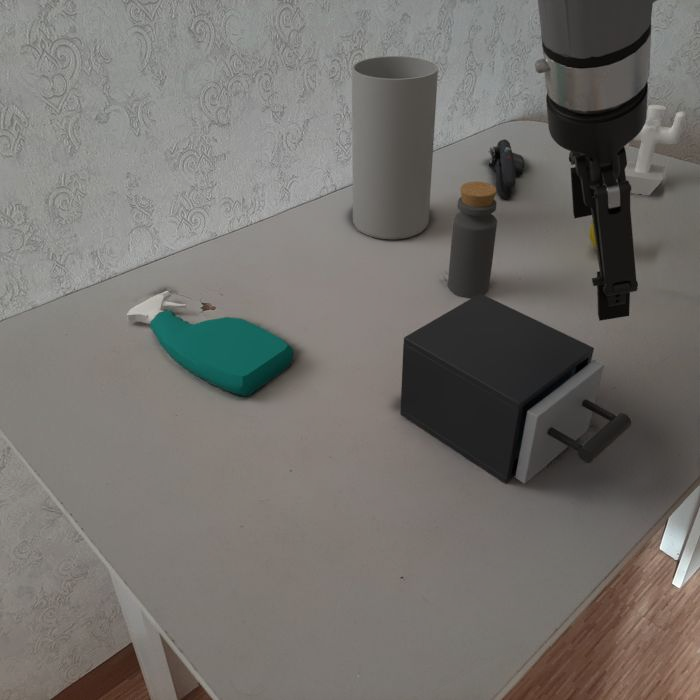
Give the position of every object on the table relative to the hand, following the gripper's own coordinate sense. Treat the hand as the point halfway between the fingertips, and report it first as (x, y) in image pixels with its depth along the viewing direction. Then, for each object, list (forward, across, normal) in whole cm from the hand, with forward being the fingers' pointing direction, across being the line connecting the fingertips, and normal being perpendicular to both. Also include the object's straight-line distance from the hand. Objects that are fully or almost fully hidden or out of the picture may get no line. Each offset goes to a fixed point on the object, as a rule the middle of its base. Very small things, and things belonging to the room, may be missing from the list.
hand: (599, 261), depth 72 cm
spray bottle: (+7, -4, -48) cm, 49 cm away
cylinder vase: (+25, -36, -27) cm, 52 cm away
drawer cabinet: (+12, +10, -14) cm, 21 cm away
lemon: (+31, -26, +5) cm, 41 cm away
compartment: (+11, +13, -10) cm, 20 cm away
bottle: (+22, -17, -15) cm, 31 cm away
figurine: (+42, -49, +15) cm, 66 cm away
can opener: (+36, -52, -8) cm, 64 cm away
